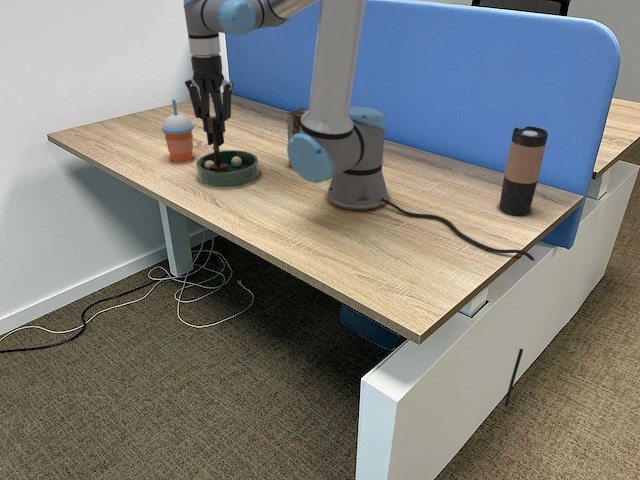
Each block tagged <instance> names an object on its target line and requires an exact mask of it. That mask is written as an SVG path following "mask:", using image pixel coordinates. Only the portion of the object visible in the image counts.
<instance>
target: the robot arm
mask: <svg viewBox="0 0 640 480" xmlns="http://www.w3.org/2000/svg"><path fill="white" fill-rule="evenodd" d="M319 1H320V2H319ZM318 2H319V3H320V4H319V13H318V23H317V31H316V39H315V40H316V41H315V51H314V58H313V59H314V60H313V68H312V76H311V77H312V78H311V87H310V97H309V105H308V111H307V112H305V113H304V114H303V115H302V116H301V122H300V131H299V133H298V134H295V135H294V136H293V137H292V138H291V139H290V140H289V142H288V141H287V146H286V151H287V152H286V153H287V158H288V162H289V161H290V163H291V165H292V166H291V165H290V166H291V167H292V168H293V171H294V172H295V173H296V174H297V175H298V177H300V178H301V179H303V180H304V181H306V182H308V183H311V184H320V183H323V182H325V181H329V180H330V183H329V186H328V190H327V199H328V201H329V203H331V204H333V206H335V207H338V208H341V209H344V210H347V211H348V210H350V211H358V212H359V211H370V210H375V209H378V208H380V207H382V206H384V205H385V204H386V205H388V206H390V207H392V208H394V209H395V210H397V211H398V212H400V213H402V214H404V215H407V216H411V217H416V218H429V219H435V220H439V221H442V222H443V223H445V224H447V225H448V227H450V228H451V230H452V231H454V233H456V234H457V235H458V236H459V237H461V238H463V239H464V240H465V241H467V242H469V243H471V244H472V245H475V246H477V247H478V248H481V249H483V250H487V251H489V252H492V253H495V254H521V255H523V256H524V257H525V256H526V257H527V258H528V259H529V260H530V261H532V262H534V261H536V259H535V258H534V257H533V256H532V255H531V254H530V253H529V252H528V251H525V250H522V249H501V248H494V247H491V246H488V245H486V244H482V243H481V242H478V241H477V240H475V239H473V238H471V237H469V236H468V235H466V234H464V233H463V232H461V231H460V230H458V228H457V227H456V225H454V224H453V223H452V222H451V221H450V220H448V219H446V218H444V217H443V216H439V215H435V214H427V213H415V212H410V211H407V210H405V209H403V208H401V207H399V206H398V205H396V204H394V202H391V201H389V200H388V188H387V185H386V181H385V175H384V173H383V159H384V147H385V146H384V145H385V131H386V118H385V115H384V113H382V112H381V111H380V110H377V109H375V108H371V107H364V106H354V105H353V106H351V101H352V96H353V95H352V94H353V89H354V82H355V76H356V69H357V62H358V58H359V57H358V56H359V51H360V44H361V37H362V31H363V25H364V17H365V11H366V5H367V0H183V10H184V16H185V23H186V31H187V36H188V46H189V54H190V55H191V57H190V62H191V69H192V71H193V74H192V78H190V79H188V80H187V79H186V80H185V82H184V85H185V87H186V88H187V90H188V94H189V97H190V101H191V106H192V108H193V113H194V117H195V118H196V119H199V120H201V121H202V126H203V131H204V133H206V140H207V145H208V146H213V140H212V133H209V131H208V123H207V118H208V117H211V116H212V115H211V112H210V111H211V109H210V108H211V107H210V97H211V100H212V104H213V109H214V114H215V115H214V116H216V119H217V121H215V123H214V124H215V133H216V141H217V146H219V147H221V146H222V145H224V144H225V138H224V134H225V133H226V124H225V123H226V122H225V121H228V120H229V119H231V117H232V91H233V88H234V86H235V84H234V82H233V81H228V80H226V79H225V76H224V74H223V62H222V61H223V60H222V55H221V54H220V53H221V42H220V33H221V34H227V35H231V36H245V35H248V34H249V33H250V32H251V31H255V30H259V29H266V28H277V27H279V26H281V25H285V24H287V23H288V22H289V21H290V20H291V18H292V16H294V15H296V14H298V13H300V12H301V11H303V10H305V9H306V8H308V7H310V6H312V5H314V4H316V3H318ZM221 87H222V90H223V91H222V90H221ZM221 94H222V95H221ZM523 352H524V349H523V348H519V350H518V354H517V358H516V361H515V364H514V368H513V372H512V375H511V378H510V381H509V386H508V389H507V393H506V398H505V402H504V408H508V407H509V403H510V398H511V394H512V390H513V387H514V383H515V380H516V376H517V373H518V369H519V366H520V363H521V359H522V355H523Z"/></svg>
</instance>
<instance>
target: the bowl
mask: <svg viewBox="0 0 640 480" xmlns="http://www.w3.org/2000/svg"><path fill="white" fill-rule="evenodd" d="M219 151H220V160H221V163H225V164H228V170H229V172H213V171H208V170H206V169H205V167H204V164H205V162H206V161H209V160H210V161H213V162H214V163H215V156H214V151H213V152H209V153H207V154H204V155H202V156H201V157H199V158H198V160H197V161H196V171H197V172H196V173H197V179H198V180H199V181H200V182H201V183H202V184H204V185H207V186H211V187H217V188H233V187H239V186H243V185H246V184H249V183H251V182H254V180H256V179H257V178H258V177H259V175H260V167H259V166H260V165H259V158H258V156H257V155H256V154H254V153H252V152H249V151H246V150H239V149H238V150H236V149H234V150H233V149H226V150H219ZM233 157H240V158H241V160H242V164H241V165H240V166H239V167H234V166H233V165H232V163H231V160H232V158H233Z"/></svg>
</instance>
